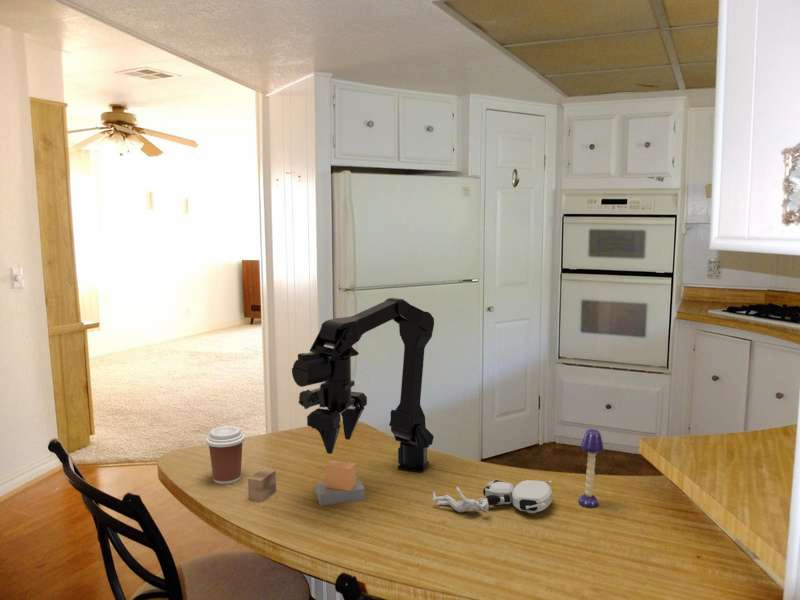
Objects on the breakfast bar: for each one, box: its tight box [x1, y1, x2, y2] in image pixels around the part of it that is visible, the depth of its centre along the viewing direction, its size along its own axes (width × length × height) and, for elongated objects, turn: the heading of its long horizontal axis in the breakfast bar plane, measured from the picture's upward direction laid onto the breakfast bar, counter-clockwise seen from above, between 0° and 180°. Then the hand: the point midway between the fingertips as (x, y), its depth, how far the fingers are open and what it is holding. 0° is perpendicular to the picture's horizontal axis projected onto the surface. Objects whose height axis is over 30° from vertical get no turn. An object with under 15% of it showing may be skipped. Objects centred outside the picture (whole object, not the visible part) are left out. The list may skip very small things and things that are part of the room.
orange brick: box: [324, 459, 357, 491], centre depth 142 cm, size 6×3×5 cm, turn 70°
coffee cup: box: [205, 425, 246, 485], centre depth 152 cm, size 9×9×12 cm
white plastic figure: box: [432, 486, 490, 514], centre depth 135 cm, size 8×5×12 cm
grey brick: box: [314, 477, 366, 507], centre depth 142 cm, size 10×6×3 cm, turn 108°
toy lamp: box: [578, 428, 604, 509], centre depth 137 cm, size 5×5×17 cm
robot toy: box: [478, 479, 553, 514], centre depth 138 cm, size 12×4×15 cm
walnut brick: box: [247, 468, 277, 503], centre depth 143 cm, size 6×3×5 cm, turn 160°
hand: (339, 446), depth 141 cm, fingers open, 9 cm apart
